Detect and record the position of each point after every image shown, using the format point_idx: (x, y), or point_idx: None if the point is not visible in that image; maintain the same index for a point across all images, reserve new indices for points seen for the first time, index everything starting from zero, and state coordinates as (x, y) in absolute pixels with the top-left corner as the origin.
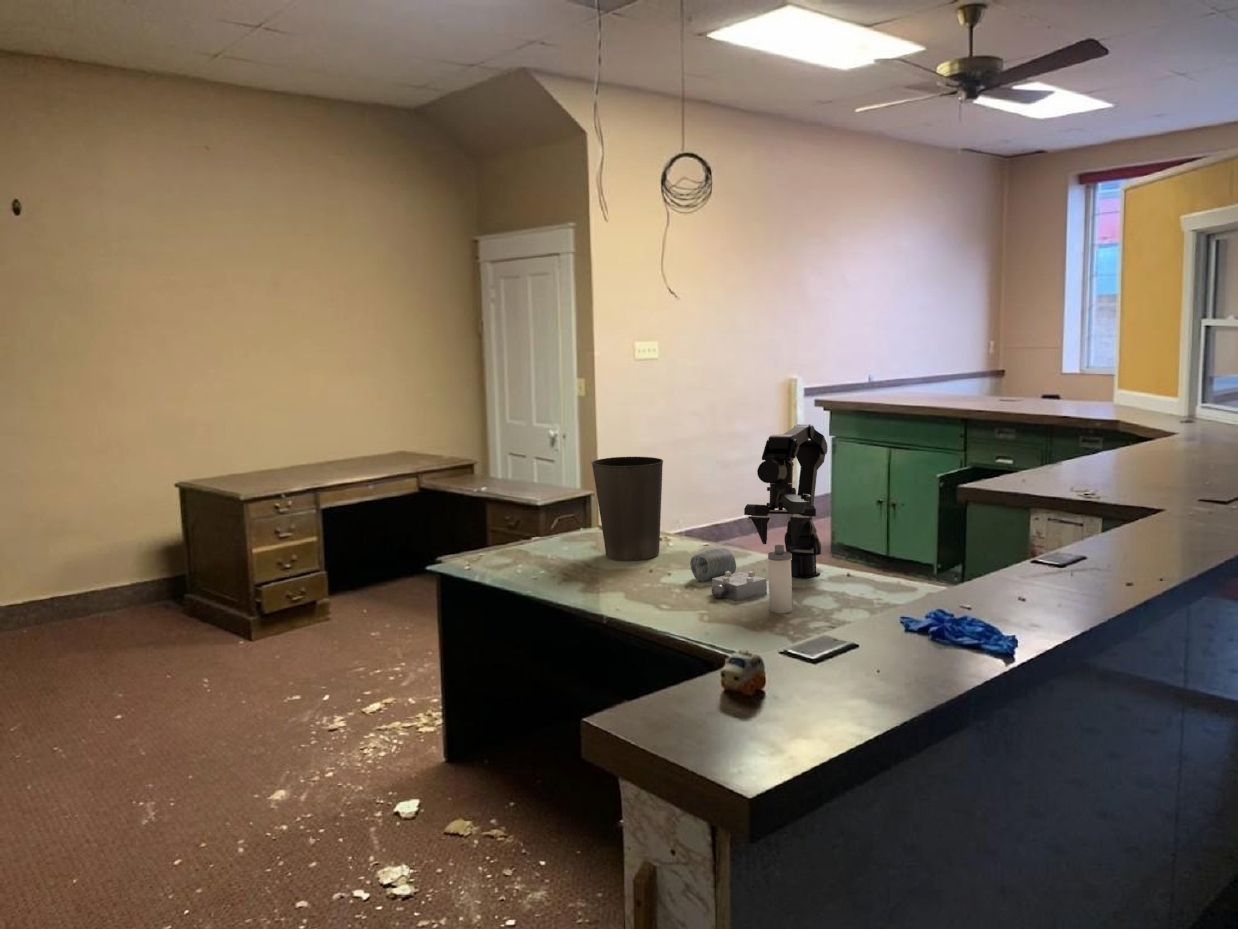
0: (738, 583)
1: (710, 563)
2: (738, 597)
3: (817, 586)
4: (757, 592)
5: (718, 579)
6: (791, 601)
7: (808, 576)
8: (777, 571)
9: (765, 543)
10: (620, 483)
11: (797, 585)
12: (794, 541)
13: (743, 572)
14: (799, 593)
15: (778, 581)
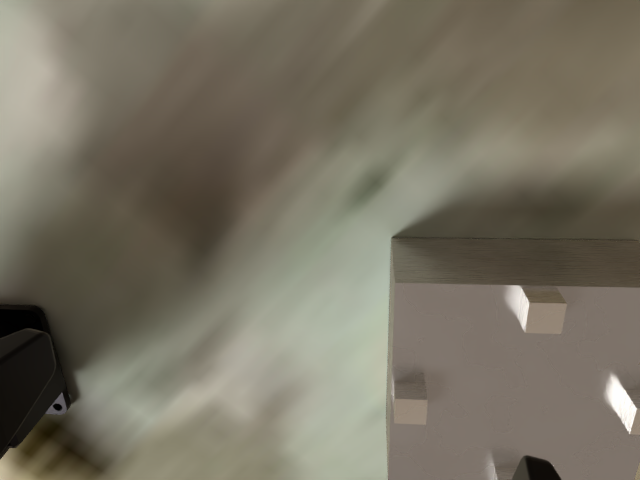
0: (626, 323)
1: None
2: (634, 249)
3: (53, 153)
4: (471, 247)
5: (622, 462)
6: None
7: (5, 307)
8: None
9: (544, 465)
10: None
11: (140, 245)
12: (27, 362)
13: (390, 466)
14: (234, 111)
15: None
